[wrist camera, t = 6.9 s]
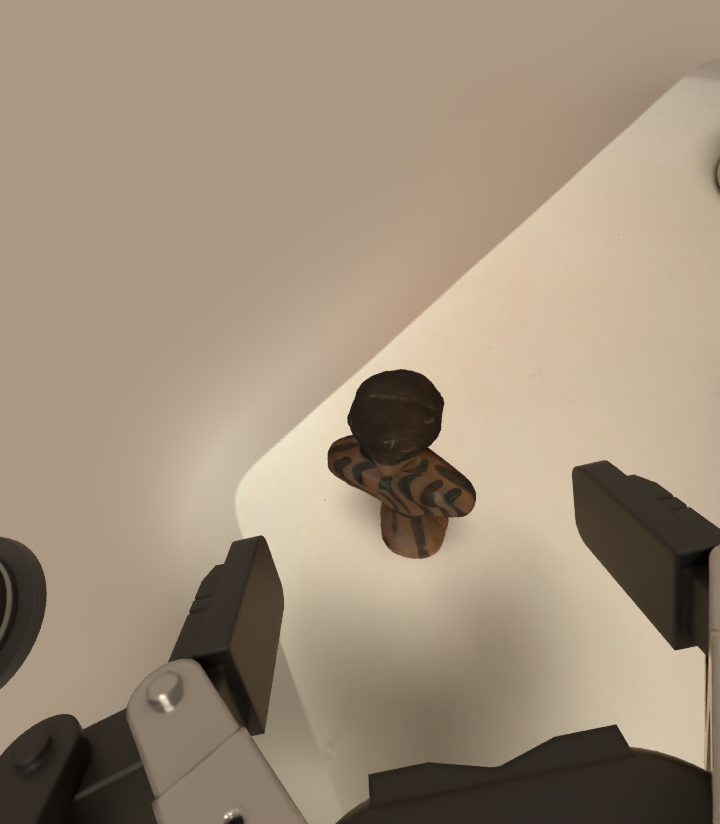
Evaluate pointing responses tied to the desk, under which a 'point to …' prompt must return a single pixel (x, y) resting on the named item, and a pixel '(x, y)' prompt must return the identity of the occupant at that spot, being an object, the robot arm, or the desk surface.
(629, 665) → the desk surface
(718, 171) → the jar
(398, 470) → the figurine
